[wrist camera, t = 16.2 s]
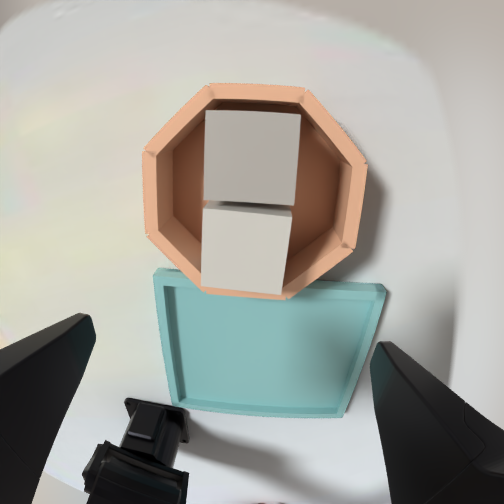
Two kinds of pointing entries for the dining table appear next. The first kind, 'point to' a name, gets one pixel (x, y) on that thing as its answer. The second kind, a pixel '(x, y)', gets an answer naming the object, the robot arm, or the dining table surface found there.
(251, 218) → the grey cardboard cube
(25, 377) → the robot arm
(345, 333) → the tray
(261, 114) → the cube
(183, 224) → the bowl
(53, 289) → the dining table surface
